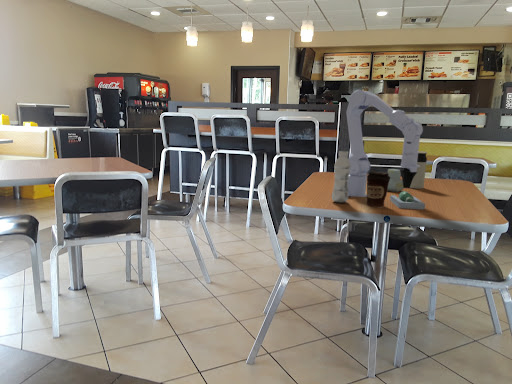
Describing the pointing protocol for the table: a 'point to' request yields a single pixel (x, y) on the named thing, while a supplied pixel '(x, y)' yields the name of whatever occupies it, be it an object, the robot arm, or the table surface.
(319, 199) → the table surface
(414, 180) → the travel mug
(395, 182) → the air freshener
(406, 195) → the bottle
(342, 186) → the plastic bottle
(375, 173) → the coffee cup
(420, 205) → the cradle
